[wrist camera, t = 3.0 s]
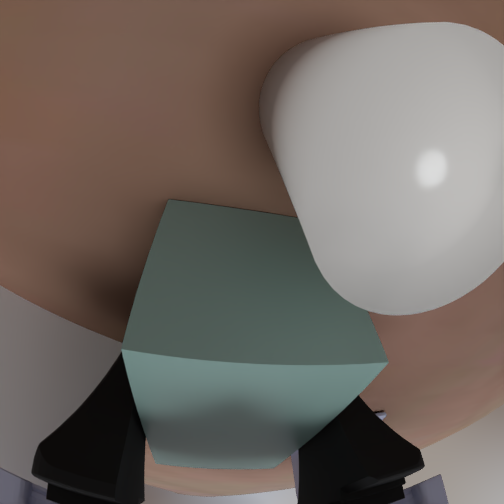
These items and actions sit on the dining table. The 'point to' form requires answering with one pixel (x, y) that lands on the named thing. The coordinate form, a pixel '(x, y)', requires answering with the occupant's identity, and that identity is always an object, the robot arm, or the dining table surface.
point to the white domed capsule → (394, 159)
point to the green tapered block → (240, 340)
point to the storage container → (43, 376)
